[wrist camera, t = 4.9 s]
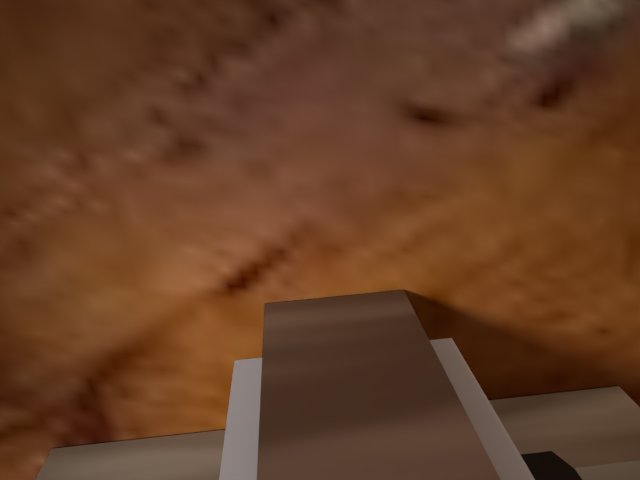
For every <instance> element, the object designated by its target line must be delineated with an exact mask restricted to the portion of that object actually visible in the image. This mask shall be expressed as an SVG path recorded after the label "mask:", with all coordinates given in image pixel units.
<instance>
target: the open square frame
mask: <svg viewBox="0 0 640 480" xmlns="http://www.w3.org/2000/svg"><path fill="white" fill-rule="evenodd" d="M488 401H489V402H490V404H491V406H492V407H493V409H494V411H495V412H496V414H497V416H498V418H499V419H500V421H501V423H502V424H503V426H504V428H505V429H506V431H507V433H508V435H509V436H510V438H511V440H512V441H513V443H514V445H515V446H516V448H517V450H518V452H519V453H520V454H529V453H537V452H546V451H552V452H554V453H555V454H556V455H558V456H559V457H560V458H561V459H563V460H564V461H565V462H567V463H568V464H569V465H570V466H572V467H573V468H574V469H575V470H576V471H577V473H578V474H579V476H580V477H581V479H582V480H640V407H639V406H638V405H637V404H636V403H635V402H634V401H633V400H632V399H631V398H630V397H629V396H628V395H627V394H626V393H625V392H624V391H623V390H622V389H621V388H620V387H619V386H615V387H606V388H597V389H588V390H578V391H569V392H560V393H551V394H542V395H533V396H524V397H515V398H506V399H497V400H488ZM224 438H225V430H217V431H208V432H199V433H190V434H180V435H171V436H162V437H153V438H144V439H135V440H126V441H117V442H108V443H99V444H90V445H81V446H72V447H63V448H54V449H52V450H51V451H50V453H49V455H48V457H47V459H46V460H45V462H44V464H43V466H42V468H41V470H40V471H39V473H38V475H37V477H36V479H35V480H219V476H220V468H221V461H222V453H223V445H224ZM257 480H500V478H499V476H498V474H497V472H496V470H495V468H494V466H493V464H492V462H491V460H490V458H489V456H488V454H487V452H486V450H485V448H484V446H483V444H482V442H481V441H480V439H479V437H478V435H477V433H476V431H475V429H474V427H473V425H472V423H471V421H470V419H469V417H468V415H467V413H466V411H465V409H464V407H463V405H462V403H461V401H460V399H459V397H458V395H457V393H456V391H455V390H454V388H453V386H452V384H451V382H450V380H449V378H448V376H447V374H446V372H445V370H444V368H443V366H442V364H441V362H440V360H439V358H438V356H437V354H436V352H435V350H434V348H433V346H432V344H431V342H430V340H429V338H428V337H427V335H426V333H425V331H424V329H423V327H422V325H421V323H420V321H419V319H418V317H417V315H416V313H415V311H414V309H413V307H412V305H411V303H410V301H409V299H408V297H407V295H406V293H405V291H404V290H397V291H387V292H376V293H366V294H356V295H346V296H336V297H326V298H316V299H306V300H296V301H286V302H276V303H266V304H265V306H264V329H263V351H262V373H261V395H260V417H259V439H258V461H257Z"/></svg>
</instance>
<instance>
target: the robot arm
mask: <svg viewBox="0 0 640 480" xmlns="http://www.w3.org/2000/svg"><path fill="white" fill-rule="evenodd" d="M430 342H431V344H432V346H433V348H434V350H435V352H436V354H437V356H438V358H439V360H440V362H441V364H442V366H443V368H444V370H445V372H446V374H447V376H448V378H449V380H450V382H451V384H452V386H453V388H454V390H455V391H456V393H457V395H458V397H459V399H460V401H461V403H462V405H463V407H464V409H465V411H466V413H467V415H468V417H469V419H470V421H471V423H472V425H473V427H474V429H475V431H476V433H477V435H478V437H479V439H480V441H481V442H482V444H483V446H484V448H485V450H486V452H487V454H488V456H489V458H490V460H491V462H492V464H493V466H494V468H495V470H496V472H497V474H498V476H499V478H500V480H582V479H581V477H580V476H579V474H578V473H577V471H576V470H575V469H574V468H573V467H572V466H570V465H569V464H568V463H567V462H565V461H564V460H563V459H561V458H560V457H559V456H558V455H556V454H555V453H554V452H552V451H546V452H537V453H529V454H520V453H519V452H518V450H517V448H516V446H515V445H514V443H513V441H512V440H511V438H510V436H509V435H508V433H507V431H506V429H505V428H504V426H503V424H502V423H501V421H500V419H499V418H498V416H497V414H496V412H495V411H494V409H493V407H492V406H491V404H490V402H489V401H488V399H487V397H486V395H485V394H484V392H483V390H482V389H481V387H480V385H479V383H478V382H477V380H476V378H475V377H474V375H473V373H472V372H471V370H470V368H469V366H468V365H467V363H466V361H465V360H464V358H463V356H462V355H461V353H460V351H459V349H458V348H457V346H456V344H455V343H454V341H453V339H452V338H445V339H436V340H430ZM261 373H262V358H254V359H244V360H235V361H234V369H233V376H232V384H231V392H230V399H229V407H228V415H227V422H226V430H225V438H224V445H223V453H222V461H221V468H220V476H219V480H257V461H258V439H259V417H260V395H261Z"/></svg>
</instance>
